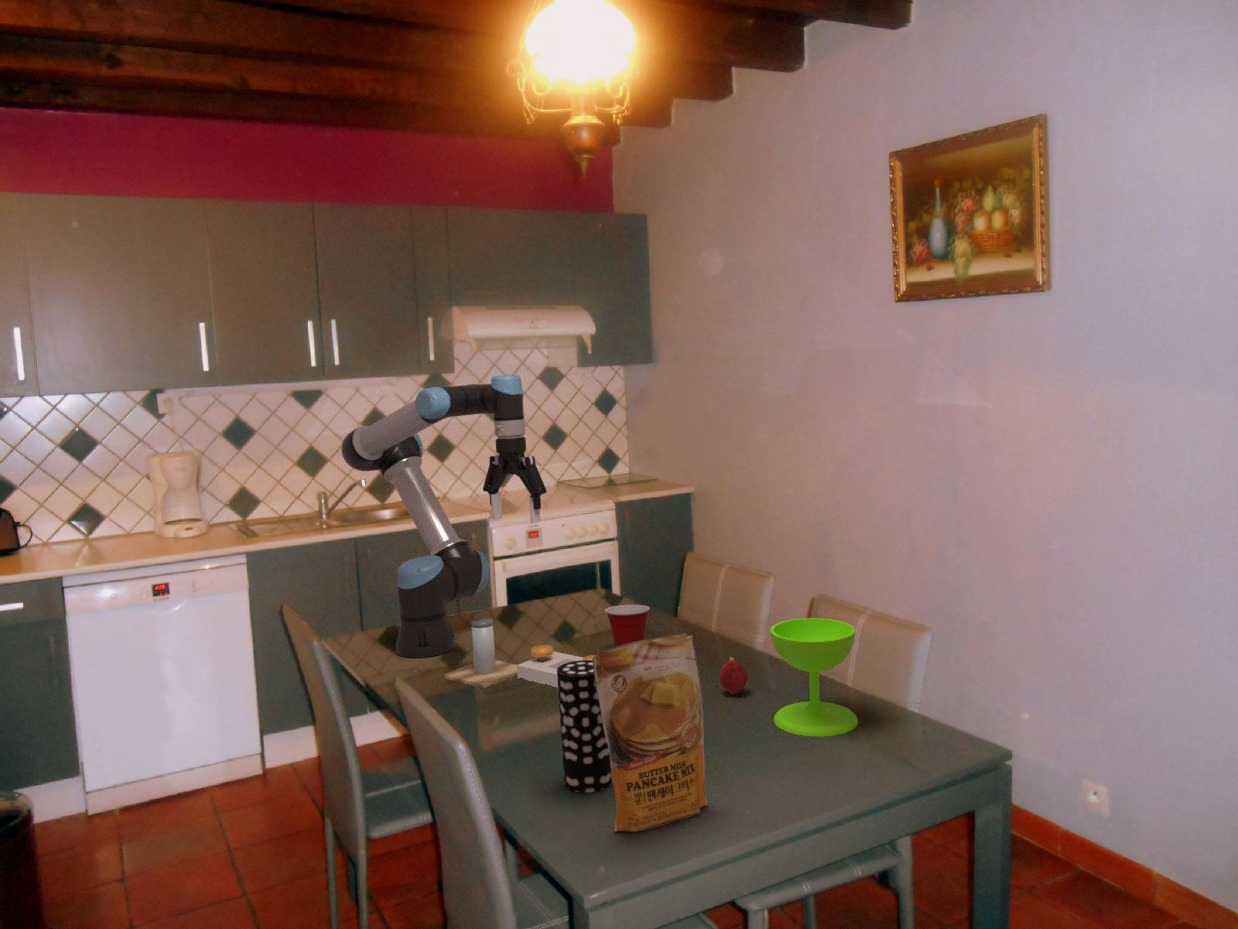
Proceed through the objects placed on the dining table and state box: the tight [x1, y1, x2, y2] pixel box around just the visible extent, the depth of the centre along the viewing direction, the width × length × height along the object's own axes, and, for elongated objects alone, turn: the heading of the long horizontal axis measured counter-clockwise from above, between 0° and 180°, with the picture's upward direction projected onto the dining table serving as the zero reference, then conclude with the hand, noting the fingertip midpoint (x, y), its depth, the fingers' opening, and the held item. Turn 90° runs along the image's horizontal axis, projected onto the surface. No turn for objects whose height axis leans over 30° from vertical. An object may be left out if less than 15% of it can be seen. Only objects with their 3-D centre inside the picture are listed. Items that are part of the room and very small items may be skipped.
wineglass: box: [769, 617, 859, 738], centre depth 180 cm, size 16×16×18 cm
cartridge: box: [470, 617, 496, 674], centre depth 218 cm, size 5×5×12 cm
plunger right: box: [582, 654, 596, 660], centre depth 208 cm, size 5×5×4 cm
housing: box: [516, 650, 583, 688], centre depth 213 cm, size 21×12×3 cm, turn 51°
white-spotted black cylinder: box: [557, 660, 613, 794], centre depth 158 cm, size 8×8×20 cm
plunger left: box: [530, 644, 554, 663], centre depth 218 cm, size 5×5×4 cm
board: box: [442, 659, 518, 689], centre depth 219 cm, size 14×14×1 cm
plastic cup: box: [604, 604, 651, 647], centre depth 227 cm, size 11×11×12 cm
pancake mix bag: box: [592, 631, 708, 833], centre depth 144 cm, size 7×19×28 cm, turn 116°
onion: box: [718, 656, 748, 696], centre depth 196 cm, size 6×6×8 cm
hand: (516, 521), depth 235 cm, fingers open, 13 cm apart
